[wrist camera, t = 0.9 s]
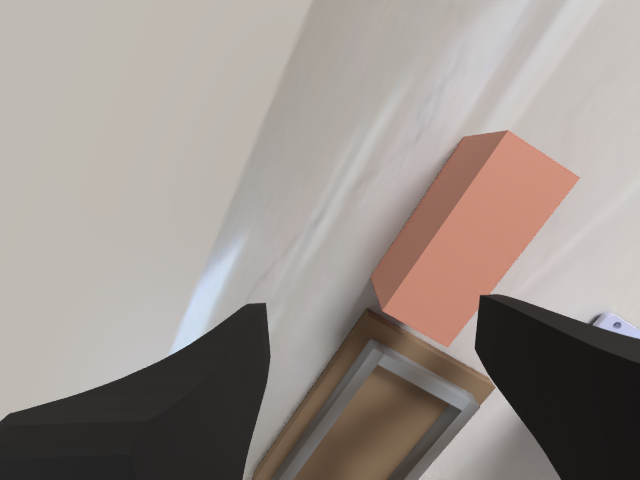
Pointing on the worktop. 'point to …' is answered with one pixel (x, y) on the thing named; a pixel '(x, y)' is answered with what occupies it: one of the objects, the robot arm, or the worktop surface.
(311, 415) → the cradle
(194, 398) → the robot arm
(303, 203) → the worktop surface
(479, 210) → the block
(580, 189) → the worktop surface
